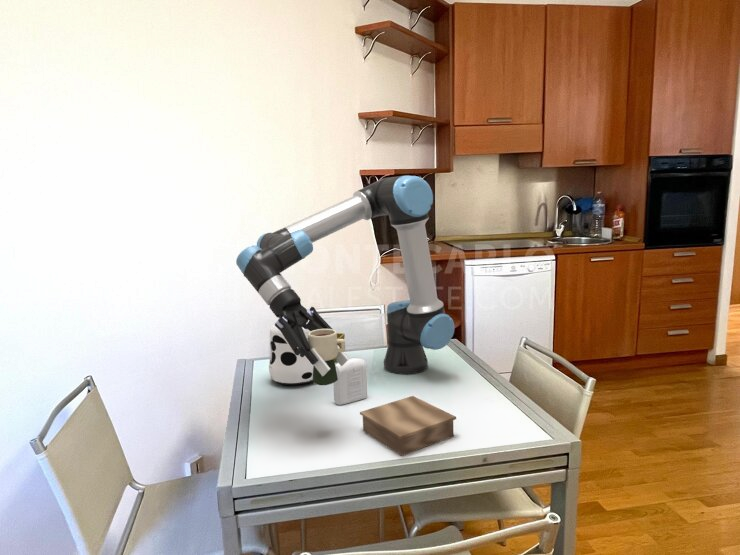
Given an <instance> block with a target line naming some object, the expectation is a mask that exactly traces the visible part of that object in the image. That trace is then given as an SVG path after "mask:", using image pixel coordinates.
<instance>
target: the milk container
mask: <svg viewBox="0 0 740 555" xmlns="http://www.w3.org/2000/svg"><path fill="white" fill-rule="evenodd" d="M308 322H309V320H308ZM308 322H307V323H308ZM307 323H306V324H307ZM302 329H303V331H304V333H305V336H306V338H307V340H308V333H309V332H310V331H309V330H308V329H304V328H303V327H302ZM269 338H270V339H269V344H270V345H269V347H270V358H269V365H268V370H269V375H270V378H271V379H272V381H274V382H276V383H277V384H281V385H286V386H299V385H303V384H309V383H311V382H312V383H313V366H314V365H312V364H311V363H310V361H309V360H308V359H307V358H306V356H304V357H301V356H300V354H299V355H296V354H295V353H294V351H293V350H292V348H291V347H290V345H289V344H288V342H287V340H286V339H285V337H284V336H283V334H282V333H281V331H280V330H279V329H278V328H277V327H276V326H275V324H272V326H270V327H269ZM297 348H298V347H297Z"/></svg>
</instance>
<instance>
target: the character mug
mask: <svg viewBox="0 0 740 555" xmlns="http://www.w3.org/2000/svg"><path fill="white" fill-rule="evenodd" d="M337 333H338V332H337V330H336V329H333V328H332V329H317V330H313V331H310V332H309V333H308V340H307V341H308V343H309V345H310V348H311V349H312V348H314V349H315V350H316V351H317V352H318V354H319V355H320V356H321V357H322V359H323V360H324V361H325V363H326V364H327V365H328V366H329V368H330V370H329V371H328V372H327V373H326V374H325V375H324V376H322V375H321V374H320V373H319V371H318V370H317V369H316V367H315V366H313V381H312V383H314V385H318V386H329V385H332V384H334V382H336V381H337V380H338V377H337V371H336V367H335V365H336V361H335V362H334V360H333V359H334V358H336V357H337V355H338V352H344V353H345V352H346V340H345V338H344V339H337ZM337 343H341V348H338V346H337ZM311 349H310V350H311Z"/></svg>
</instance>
